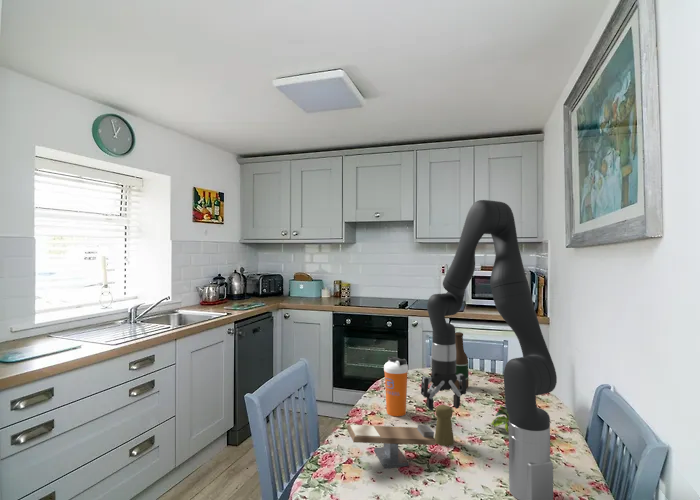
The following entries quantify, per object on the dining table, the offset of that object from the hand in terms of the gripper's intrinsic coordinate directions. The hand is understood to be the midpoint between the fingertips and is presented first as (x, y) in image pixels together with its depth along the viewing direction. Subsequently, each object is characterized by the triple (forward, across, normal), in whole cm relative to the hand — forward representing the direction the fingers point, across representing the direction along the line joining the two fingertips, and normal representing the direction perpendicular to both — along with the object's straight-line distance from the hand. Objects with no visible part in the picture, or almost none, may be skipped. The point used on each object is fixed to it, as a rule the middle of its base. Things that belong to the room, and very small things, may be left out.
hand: (443, 408), depth 126 cm
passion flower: (+10, +25, +1) cm, 27 cm away
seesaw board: (+4, -20, -6) cm, 21 cm away
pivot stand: (+10, -20, -6) cm, 23 cm away
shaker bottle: (+11, -7, +24) cm, 28 cm away
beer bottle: (+11, +29, +45) cm, 54 cm away
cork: (+10, 0, 0) cm, 10 cm away
